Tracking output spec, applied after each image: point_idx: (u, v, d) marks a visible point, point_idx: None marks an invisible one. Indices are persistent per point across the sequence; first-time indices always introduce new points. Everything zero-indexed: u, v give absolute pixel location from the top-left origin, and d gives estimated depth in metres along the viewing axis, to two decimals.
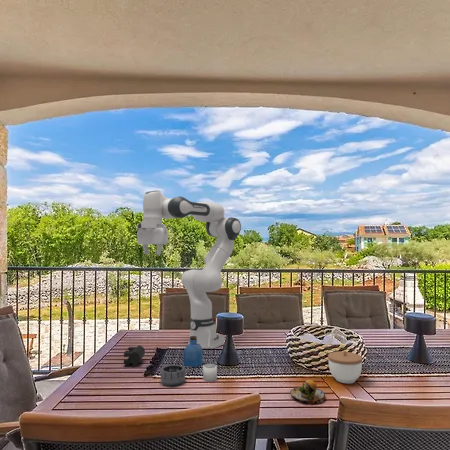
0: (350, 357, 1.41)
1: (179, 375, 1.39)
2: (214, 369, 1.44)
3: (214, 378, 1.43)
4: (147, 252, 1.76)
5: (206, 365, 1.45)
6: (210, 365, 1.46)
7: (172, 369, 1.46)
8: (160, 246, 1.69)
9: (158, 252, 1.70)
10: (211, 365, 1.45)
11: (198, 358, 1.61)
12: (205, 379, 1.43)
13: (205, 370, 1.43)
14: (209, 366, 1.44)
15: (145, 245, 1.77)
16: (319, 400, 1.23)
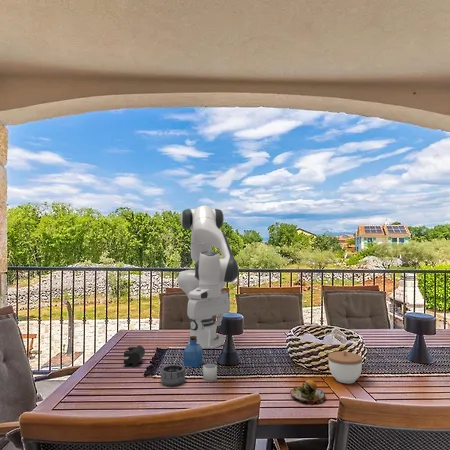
0: (350, 357, 1.41)
1: (179, 375, 1.39)
2: (214, 369, 1.44)
3: (214, 378, 1.43)
4: None
5: (206, 365, 1.45)
6: (210, 365, 1.46)
7: (172, 369, 1.46)
8: None
9: None
10: (211, 365, 1.45)
11: (198, 358, 1.61)
12: (205, 379, 1.43)
13: (205, 370, 1.43)
14: (209, 366, 1.44)
15: None
16: (319, 400, 1.23)
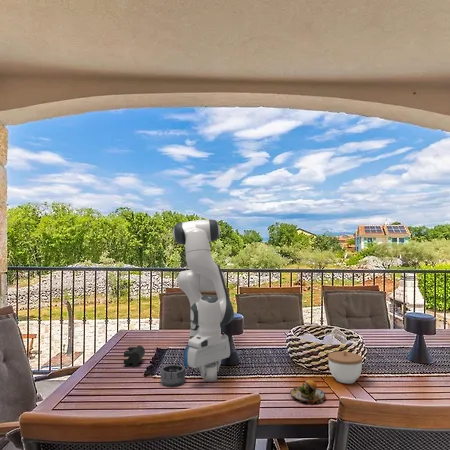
0: (350, 357, 1.41)
1: (179, 375, 1.39)
2: (214, 369, 1.44)
3: (214, 378, 1.43)
4: None
5: (206, 365, 1.45)
6: (210, 364, 1.46)
7: (172, 369, 1.46)
8: None
9: None
10: (211, 365, 1.45)
11: None
12: (205, 379, 1.43)
13: (205, 370, 1.43)
14: (209, 366, 1.44)
15: None
16: (319, 400, 1.23)
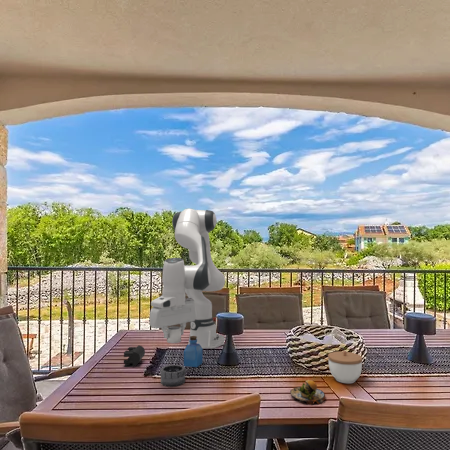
0: (350, 357, 1.41)
1: (179, 375, 1.39)
2: (178, 331, 1.41)
3: (178, 340, 1.41)
4: None
5: (170, 327, 1.43)
6: (174, 327, 1.44)
7: (172, 369, 1.46)
8: None
9: None
10: (175, 327, 1.43)
11: (198, 358, 1.61)
12: (168, 341, 1.41)
13: (168, 332, 1.41)
14: (173, 328, 1.42)
15: None
16: (319, 400, 1.23)
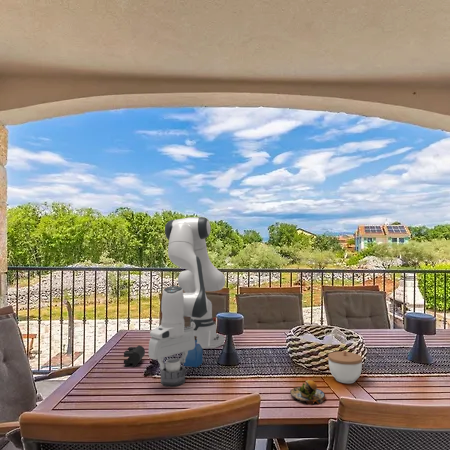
0: (350, 357, 1.41)
1: (179, 375, 1.39)
2: (177, 364, 1.41)
3: None
4: None
5: (169, 360, 1.43)
6: (173, 359, 1.43)
7: None
8: None
9: None
10: (174, 360, 1.43)
11: (198, 358, 1.61)
12: None
13: (168, 365, 1.41)
14: (172, 361, 1.42)
15: None
16: (319, 400, 1.23)
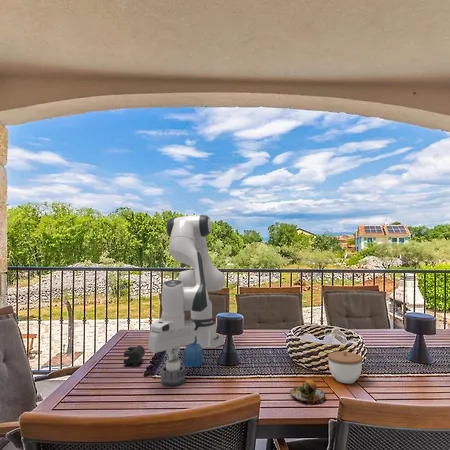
0: (350, 357, 1.41)
1: (179, 375, 1.39)
2: (177, 364, 1.41)
3: None
4: None
5: (169, 360, 1.43)
6: None
7: None
8: None
9: None
10: (174, 360, 1.43)
11: (198, 358, 1.61)
12: None
13: (168, 365, 1.41)
14: (172, 361, 1.42)
15: None
16: (319, 400, 1.23)
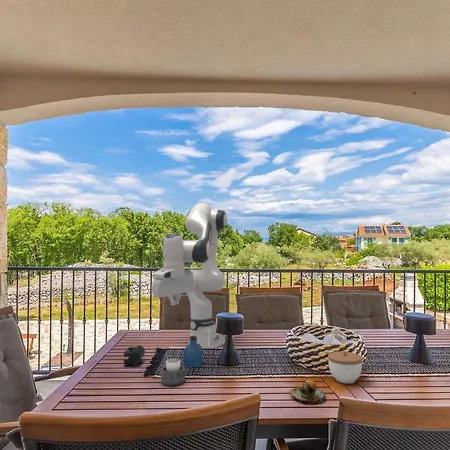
0: (350, 357, 1.41)
1: (179, 375, 1.39)
2: (177, 364, 1.41)
3: None
4: None
5: (169, 360, 1.43)
6: (173, 359, 1.43)
7: None
8: None
9: None
10: (174, 360, 1.43)
11: (198, 358, 1.61)
12: None
13: (168, 365, 1.41)
14: (172, 361, 1.42)
15: None
16: (319, 400, 1.23)
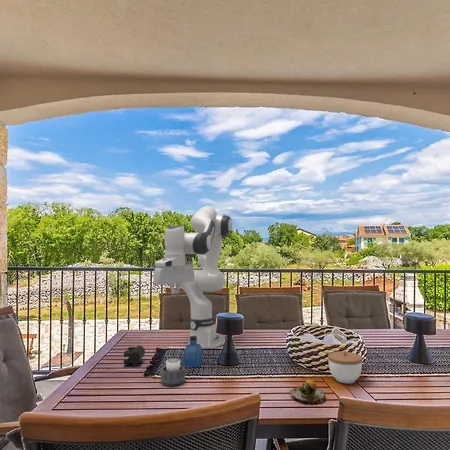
0: (350, 357, 1.41)
1: (179, 375, 1.39)
2: (177, 364, 1.41)
3: None
4: None
5: (169, 360, 1.43)
6: (173, 359, 1.43)
7: None
8: None
9: None
10: (174, 360, 1.43)
11: (198, 358, 1.61)
12: None
13: (168, 365, 1.41)
14: (172, 361, 1.42)
15: None
16: (319, 400, 1.23)
